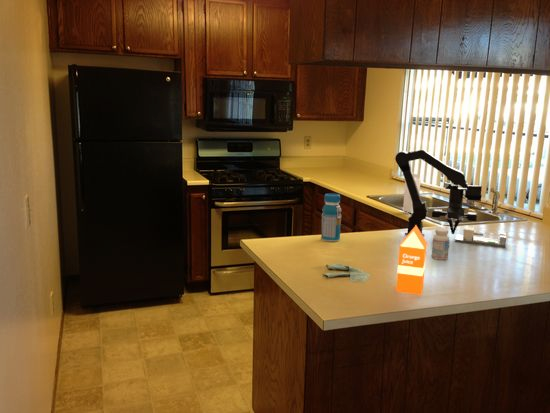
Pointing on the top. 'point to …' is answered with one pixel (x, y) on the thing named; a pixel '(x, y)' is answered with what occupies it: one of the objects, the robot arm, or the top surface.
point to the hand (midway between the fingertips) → (452, 233)
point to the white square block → (470, 233)
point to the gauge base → (484, 240)
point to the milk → (407, 198)
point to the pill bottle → (440, 244)
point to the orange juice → (411, 263)
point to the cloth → (354, 273)
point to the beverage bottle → (331, 218)
